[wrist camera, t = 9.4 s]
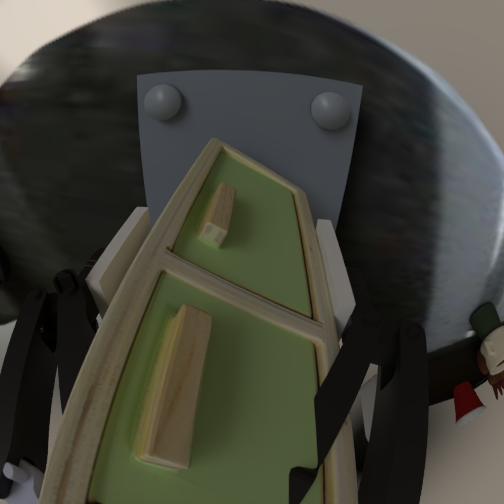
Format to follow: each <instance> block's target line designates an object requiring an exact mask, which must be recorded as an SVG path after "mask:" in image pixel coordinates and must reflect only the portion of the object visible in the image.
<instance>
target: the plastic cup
mask: <svg viewBox="0 0 504 504" xmlns="http://www.w3.org/2000/svg"><path fill="white" fill-rule="evenodd" d="M453 393H454V403H455V411H456V423H455V425H456V426H460V425H463V424H465V423H468V422H469V421H471V420H473V419H474V418H476V417H477V416H479V415H480V414H481V413H482V412H483V411H484V410H485V409H486V406H484V405H483V403H482V402H481V401H480V399H479V398H478V396H477V394H476V392H475V391H474V389H473V388H472V386H471V384H470V383H469V381H465V382H463V383H461V384H459V385H457V386H456V387H455V388H454V389H453Z"/></svg>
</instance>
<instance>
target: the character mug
mask: <svg viewBox="0 0 504 504" xmlns="http://www.w3.org/2000/svg"><path fill="white" fill-rule="evenodd" d="M470 324H471V325H472V327H473V329H474V330H475V332H476V333H477V335H478V336H479V337H480V339H481V340H482V341H483V342H482V344H481V349H480V350H481V353H482V354H483V356H484V358H485V360H486V365H487V367H488V370H489V372H490V374H491V375H495V374H498V373H500V372H502V371H503V370H504V326H501V322H500V319H499V316H498V314H497V311H496V309H495V307H494V304H493V303H487V304H485V305H483V306H482V307H481V308H479V309H478V310H477V311H476V312H475V313H474V314H473V315H472V316H471V318H470Z"/></svg>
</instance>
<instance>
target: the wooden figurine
mask: <svg viewBox="0 0 504 504" xmlns="http://www.w3.org/2000/svg"><path fill="white" fill-rule="evenodd" d="M480 349H481V346H480V347H479V349H478V350H477V362H478V366H479V369H480V371H481V372H482V373H483V374H485V375H488V382H489V384H490V385H492V387H493V390H494V393H495V396H496V399H498V392H497V388H498V390H499V391H500V393H501V395H503V394H502V389H501V386H502V388H503V389H504V370H503V371H502V372H500V373H498V374H495V375H491V374H490V372H489V370H488V367H487V365H486V360H485V358H484V356H483V354H482V353H481V350H480Z"/></svg>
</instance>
